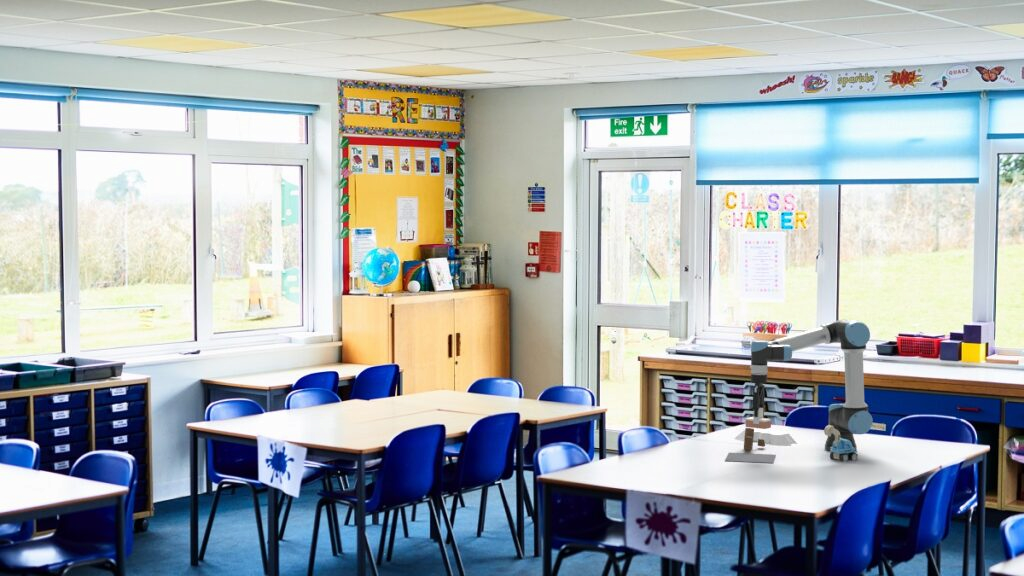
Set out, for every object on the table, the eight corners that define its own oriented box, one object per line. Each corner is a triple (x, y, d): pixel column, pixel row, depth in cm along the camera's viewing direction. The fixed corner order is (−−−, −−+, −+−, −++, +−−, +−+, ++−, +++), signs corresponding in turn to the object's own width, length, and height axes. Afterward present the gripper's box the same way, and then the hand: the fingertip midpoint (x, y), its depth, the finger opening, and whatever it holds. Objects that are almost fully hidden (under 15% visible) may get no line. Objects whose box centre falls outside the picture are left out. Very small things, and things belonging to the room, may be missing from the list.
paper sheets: (808, 443, 623) (809, 433, 622) (789, 448, 608) (789, 437, 608) (748, 436, 646) (749, 425, 646) (728, 440, 631) (728, 430, 631)
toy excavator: (818, 460, 572) (819, 424, 571) (845, 458, 579) (846, 422, 579) (831, 464, 564) (831, 426, 563) (858, 461, 572) (859, 424, 571)
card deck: (751, 425, 579) (751, 416, 579) (770, 427, 573) (770, 419, 573) (745, 426, 574) (745, 418, 574) (765, 429, 568) (765, 420, 568)
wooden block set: (753, 454, 589) (755, 433, 588) (736, 451, 593) (738, 430, 593) (765, 449, 605) (767, 428, 604) (748, 446, 609) (750, 426, 608)
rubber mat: (775, 456, 583) (775, 454, 583) (773, 464, 562) (773, 462, 562) (728, 454, 589) (728, 452, 589) (724, 462, 567) (724, 460, 567)
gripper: (755, 371, 583) (754, 419, 584) (746, 375, 565) (745, 425, 566) (771, 372, 580) (770, 420, 581) (762, 376, 562) (761, 426, 563)
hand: (758, 422), depth 574 cm, fingers closed on card deck, 7 cm apart
